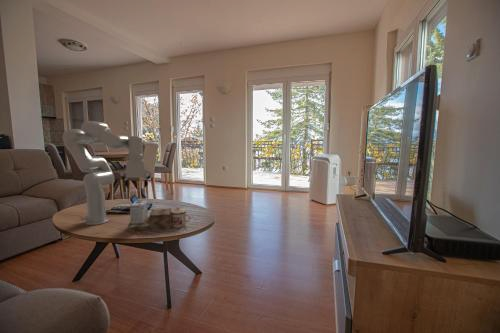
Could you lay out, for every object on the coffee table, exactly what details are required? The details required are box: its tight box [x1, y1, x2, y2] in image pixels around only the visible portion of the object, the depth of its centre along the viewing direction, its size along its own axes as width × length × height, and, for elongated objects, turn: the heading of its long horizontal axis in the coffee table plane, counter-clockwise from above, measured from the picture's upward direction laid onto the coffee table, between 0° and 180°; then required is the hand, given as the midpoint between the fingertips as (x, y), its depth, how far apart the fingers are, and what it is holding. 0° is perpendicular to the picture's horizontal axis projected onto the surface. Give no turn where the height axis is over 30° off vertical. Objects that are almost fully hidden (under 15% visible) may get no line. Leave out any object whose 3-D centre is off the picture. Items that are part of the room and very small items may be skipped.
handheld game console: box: [129, 194, 153, 211], centre depth 179 cm, size 16×13×9 cm
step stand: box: [128, 207, 172, 236], centre depth 138 cm, size 22×17×9 cm
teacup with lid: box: [171, 205, 191, 229], centre depth 143 cm, size 12×9×12 cm
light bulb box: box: [129, 200, 149, 224], centre depth 138 cm, size 11×7×11 cm, turn 9°
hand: (136, 186), depth 137 cm, fingers open, 9 cm apart
